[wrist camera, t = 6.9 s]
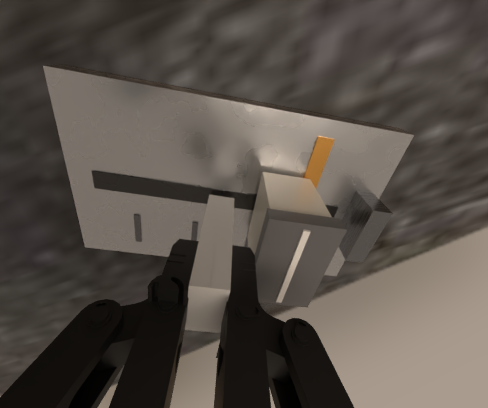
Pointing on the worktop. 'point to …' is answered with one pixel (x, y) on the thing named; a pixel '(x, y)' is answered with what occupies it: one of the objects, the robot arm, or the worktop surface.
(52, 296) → the worktop surface
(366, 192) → the panel
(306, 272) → the fader
